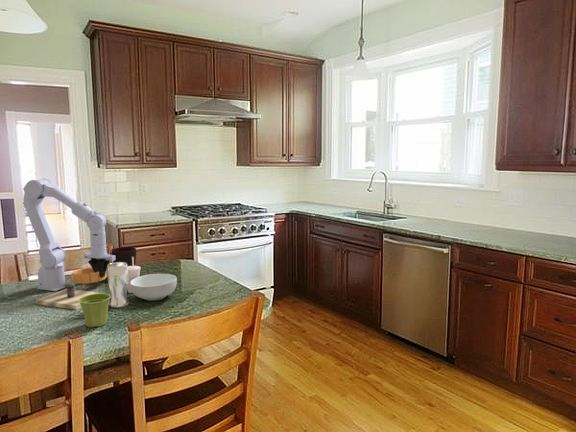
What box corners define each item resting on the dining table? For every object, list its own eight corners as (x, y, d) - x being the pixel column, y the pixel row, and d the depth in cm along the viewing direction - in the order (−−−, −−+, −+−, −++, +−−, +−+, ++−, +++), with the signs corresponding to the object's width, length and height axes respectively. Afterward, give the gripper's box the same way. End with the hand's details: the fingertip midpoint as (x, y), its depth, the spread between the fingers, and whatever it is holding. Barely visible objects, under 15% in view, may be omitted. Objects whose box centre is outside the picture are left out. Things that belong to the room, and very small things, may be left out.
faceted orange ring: (65, 282, 173) (65, 273, 172) (88, 273, 185) (88, 266, 184) (90, 284, 169) (90, 275, 169) (112, 276, 181) (112, 268, 180)
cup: (140, 275, 191) (139, 249, 189) (108, 281, 182) (106, 254, 181) (132, 271, 199) (131, 245, 197) (101, 276, 190) (99, 250, 188)
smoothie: (136, 294, 166) (134, 259, 164) (121, 293, 167) (119, 258, 165) (144, 289, 172) (143, 255, 170) (130, 288, 173) (128, 254, 171)
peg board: (36, 303, 155) (35, 287, 154) (67, 292, 169) (66, 276, 168) (76, 309, 150) (74, 292, 149) (104, 297, 163) (103, 281, 162)
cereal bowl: (153, 287, 174) (153, 271, 173) (186, 293, 167) (185, 276, 166) (121, 300, 159) (120, 282, 158) (155, 307, 152) (154, 288, 151)
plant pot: (73, 327, 135) (71, 300, 134) (97, 316, 144) (95, 291, 142) (95, 331, 131) (93, 304, 130) (118, 321, 140) (117, 295, 139)
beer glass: (117, 309, 150) (115, 267, 148) (105, 305, 154) (102, 265, 152) (134, 303, 156) (131, 263, 154) (121, 300, 160) (119, 260, 157)
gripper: (120, 243, 175) (121, 275, 177) (91, 240, 179) (93, 272, 181) (107, 246, 168) (109, 280, 170) (78, 244, 172) (80, 276, 174)
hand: (100, 276), depth 175 cm, fingers closed on faceted orange ring, 2 cm apart
